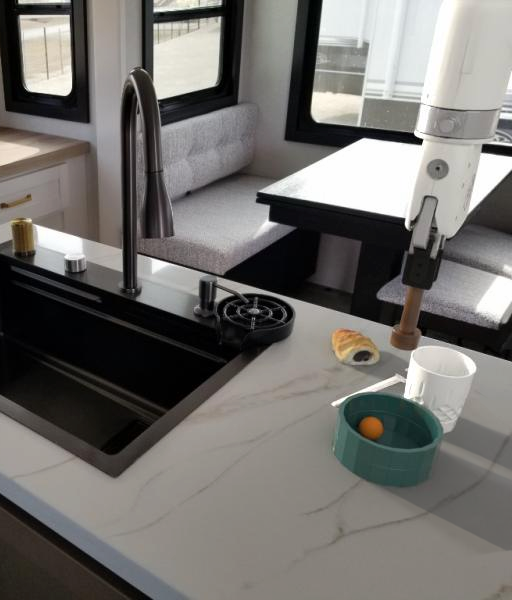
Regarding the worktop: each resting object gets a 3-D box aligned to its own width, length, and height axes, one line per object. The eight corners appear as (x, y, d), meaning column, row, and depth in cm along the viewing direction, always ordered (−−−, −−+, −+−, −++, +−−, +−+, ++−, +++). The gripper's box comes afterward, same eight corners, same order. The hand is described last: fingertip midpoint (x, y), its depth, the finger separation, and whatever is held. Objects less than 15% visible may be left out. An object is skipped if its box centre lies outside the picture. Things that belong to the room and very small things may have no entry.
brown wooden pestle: (408, 336, 80) (433, 231, 74) (423, 349, 77) (450, 242, 71) (384, 338, 80) (407, 233, 73) (398, 352, 77) (423, 243, 70)
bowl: (398, 423, 89) (407, 387, 86) (453, 484, 78) (465, 445, 75) (316, 432, 87) (322, 396, 85) (361, 496, 77) (369, 457, 74)
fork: (324, 402, 93) (325, 392, 92) (417, 366, 102) (419, 356, 101) (340, 414, 91) (342, 404, 90) (435, 376, 99) (437, 366, 98)
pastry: (321, 339, 110) (324, 319, 108) (360, 338, 110) (364, 318, 108) (341, 369, 101) (345, 348, 100) (383, 367, 102) (387, 347, 100)
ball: (373, 429, 87) (377, 411, 86) (385, 443, 84) (389, 425, 83) (353, 431, 86) (356, 413, 85) (364, 445, 84) (368, 427, 82)
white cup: (461, 414, 90) (478, 354, 86) (455, 446, 84) (474, 383, 80) (401, 398, 94) (415, 340, 89) (392, 427, 88) (407, 366, 83)
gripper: (483, 141, 59) (438, 317, 67) (507, 114, 70) (466, 268, 78) (398, 131, 63) (365, 299, 71) (434, 107, 74) (402, 254, 82)
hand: (419, 281), depth 75 cm, fingers closed on brown wooden pestle
